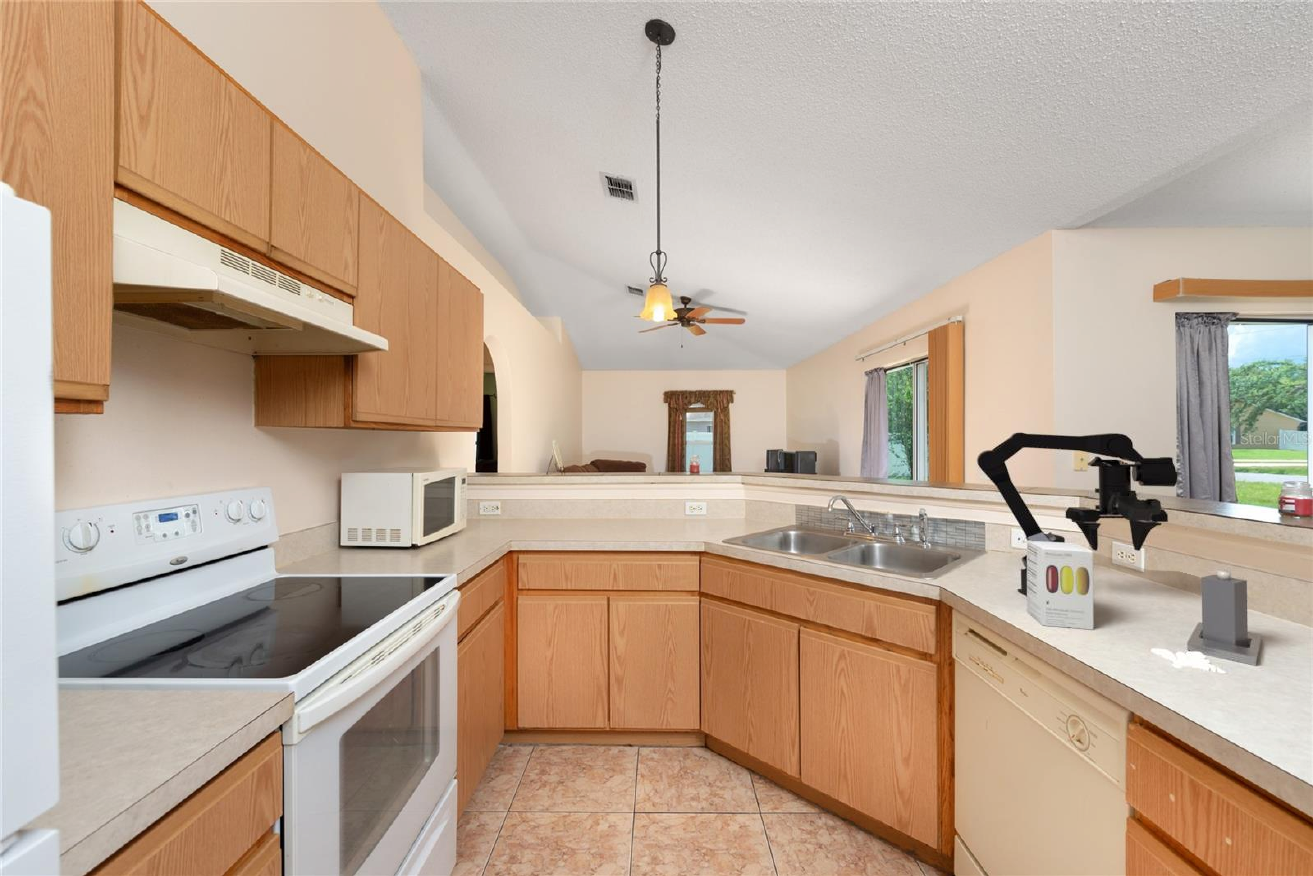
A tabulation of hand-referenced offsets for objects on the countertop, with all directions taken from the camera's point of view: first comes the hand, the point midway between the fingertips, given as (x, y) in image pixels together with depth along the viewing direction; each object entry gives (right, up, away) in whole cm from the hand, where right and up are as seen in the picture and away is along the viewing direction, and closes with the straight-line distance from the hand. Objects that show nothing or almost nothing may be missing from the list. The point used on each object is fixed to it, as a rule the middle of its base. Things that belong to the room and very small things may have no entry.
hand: (1115, 550), depth 121 cm
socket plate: (-1, -13, -24) cm, 27 cm away
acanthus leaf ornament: (-15, -14, -30) cm, 37 cm away
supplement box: (-21, -14, -9) cm, 27 cm away
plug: (-1, -13, -24) cm, 27 cm away
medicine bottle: (+3, -13, +24) cm, 27 cm away
